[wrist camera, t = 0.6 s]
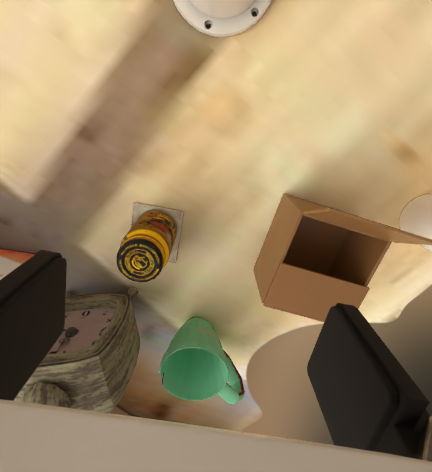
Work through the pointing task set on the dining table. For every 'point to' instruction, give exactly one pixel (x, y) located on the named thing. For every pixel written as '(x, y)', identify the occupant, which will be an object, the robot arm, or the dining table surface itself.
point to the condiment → (149, 242)
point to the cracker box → (11, 261)
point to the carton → (314, 262)
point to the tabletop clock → (88, 355)
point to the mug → (199, 365)
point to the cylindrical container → (418, 218)
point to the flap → (367, 226)
